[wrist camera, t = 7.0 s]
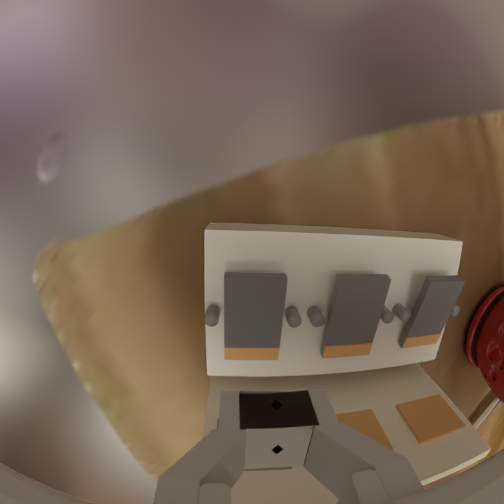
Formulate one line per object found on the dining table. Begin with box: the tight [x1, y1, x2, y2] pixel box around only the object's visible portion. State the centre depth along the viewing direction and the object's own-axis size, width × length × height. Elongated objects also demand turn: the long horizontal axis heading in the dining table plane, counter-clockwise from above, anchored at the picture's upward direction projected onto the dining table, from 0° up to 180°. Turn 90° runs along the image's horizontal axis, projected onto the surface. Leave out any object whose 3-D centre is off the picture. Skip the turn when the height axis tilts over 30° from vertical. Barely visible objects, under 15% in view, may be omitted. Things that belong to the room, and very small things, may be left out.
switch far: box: [398, 275, 466, 348], centre depth 21 cm, size 4×7×1 cm, turn 178°
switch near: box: [224, 272, 288, 360], centre depth 20 cm, size 4×7×1 cm, turn 178°
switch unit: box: [203, 223, 491, 504], centre depth 18 cm, size 22×15×16 cm
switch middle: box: [320, 274, 391, 358], centre depth 21 cm, size 4×7×1 cm, turn 178°
